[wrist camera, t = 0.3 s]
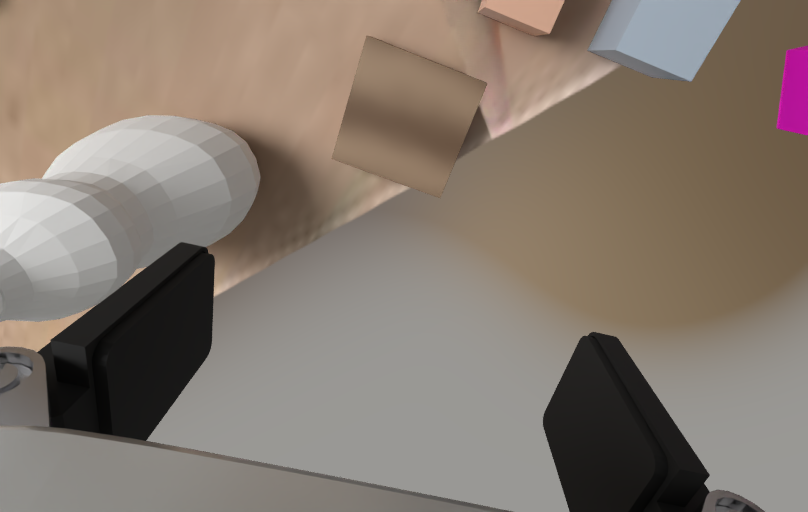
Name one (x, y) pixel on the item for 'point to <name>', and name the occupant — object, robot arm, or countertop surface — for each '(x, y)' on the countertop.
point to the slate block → (661, 34)
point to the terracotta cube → (524, 14)
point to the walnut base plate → (406, 117)
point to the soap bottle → (118, 211)
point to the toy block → (794, 92)
